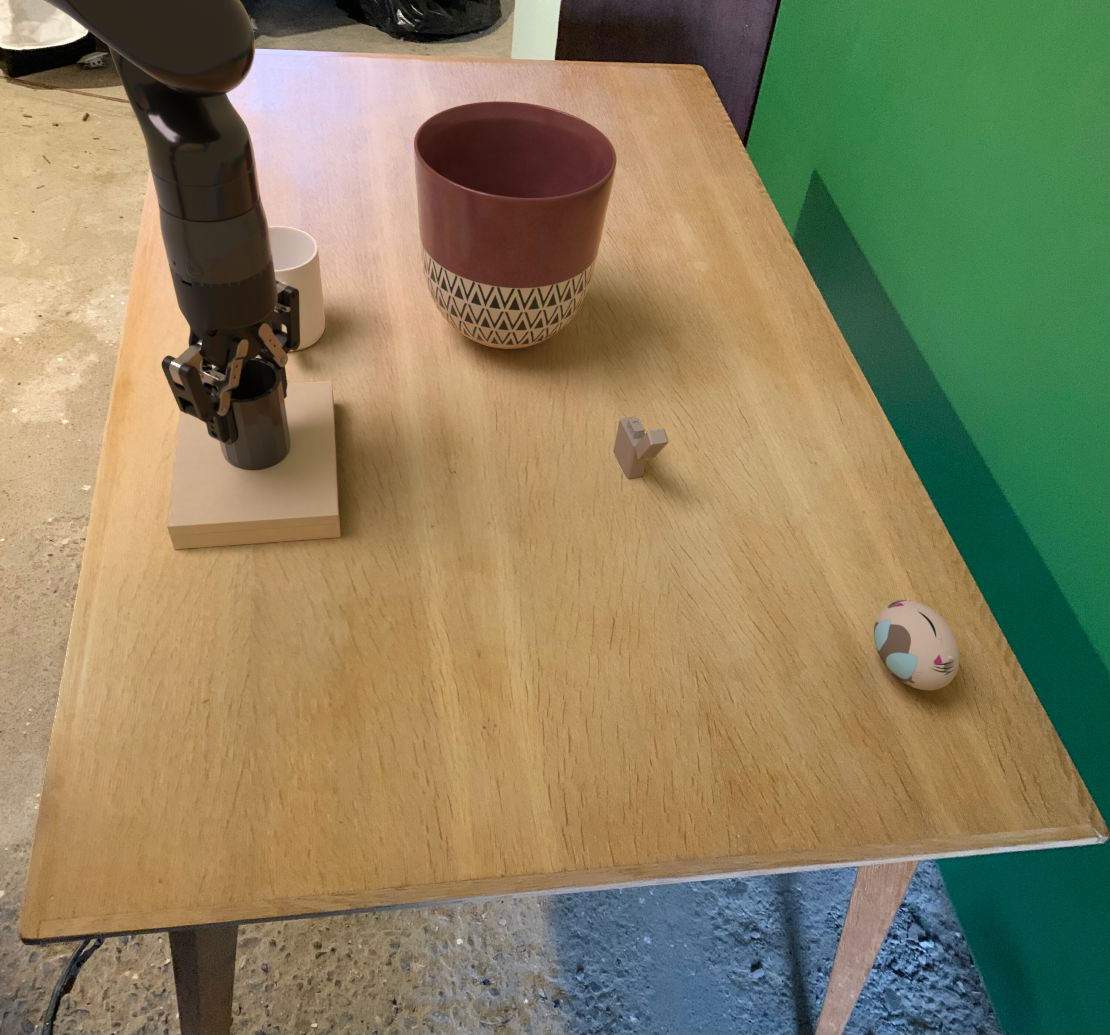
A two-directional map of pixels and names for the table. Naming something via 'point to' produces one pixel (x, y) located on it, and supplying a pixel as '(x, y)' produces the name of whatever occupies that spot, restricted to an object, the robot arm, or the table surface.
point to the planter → (510, 217)
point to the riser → (258, 481)
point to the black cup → (257, 417)
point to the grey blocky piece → (636, 446)
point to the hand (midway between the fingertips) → (250, 417)
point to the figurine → (916, 645)
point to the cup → (300, 277)
